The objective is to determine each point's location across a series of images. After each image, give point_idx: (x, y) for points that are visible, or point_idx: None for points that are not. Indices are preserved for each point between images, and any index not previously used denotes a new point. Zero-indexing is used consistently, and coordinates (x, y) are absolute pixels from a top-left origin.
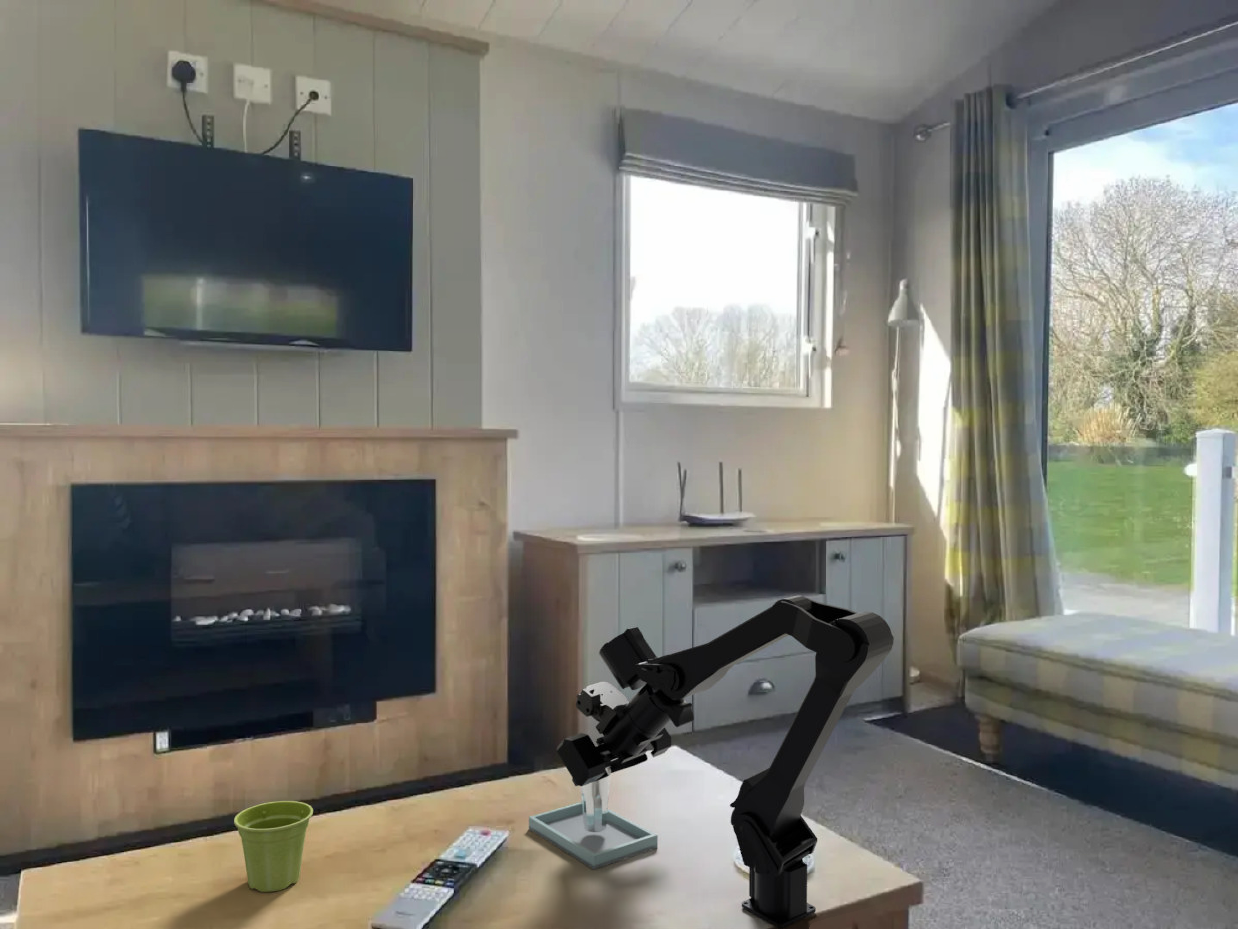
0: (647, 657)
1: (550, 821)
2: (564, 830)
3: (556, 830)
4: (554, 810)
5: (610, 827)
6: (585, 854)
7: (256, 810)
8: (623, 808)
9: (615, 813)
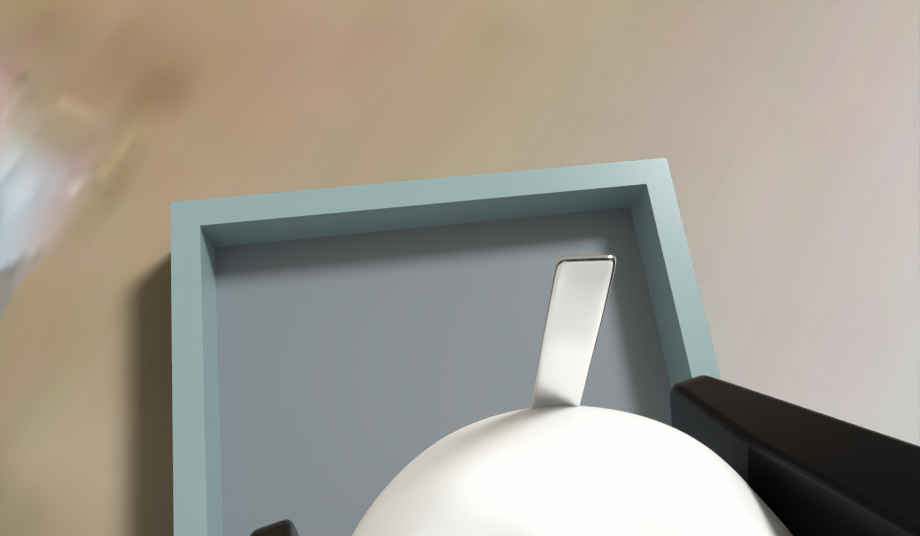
0: None
1: (337, 235)
2: (343, 404)
3: (204, 509)
4: (374, 194)
5: None
6: None
7: None
8: (847, 251)
9: None
